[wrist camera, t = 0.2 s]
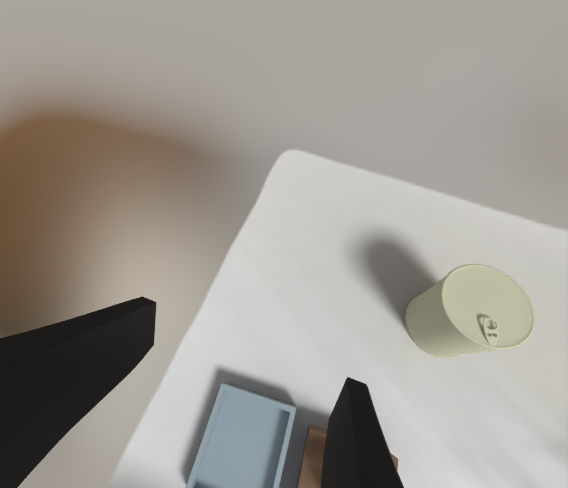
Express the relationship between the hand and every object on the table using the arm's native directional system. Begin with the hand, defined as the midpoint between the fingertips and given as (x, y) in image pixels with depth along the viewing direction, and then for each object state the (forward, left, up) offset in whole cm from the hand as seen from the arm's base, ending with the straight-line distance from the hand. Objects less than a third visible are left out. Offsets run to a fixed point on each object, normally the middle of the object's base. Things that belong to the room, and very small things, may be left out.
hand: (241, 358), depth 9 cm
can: (+12, -19, -31) cm, 38 cm away
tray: (-9, +3, -31) cm, 32 cm away
